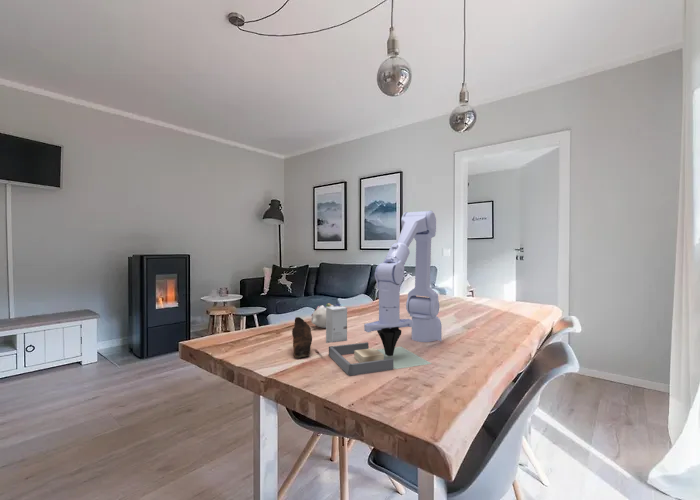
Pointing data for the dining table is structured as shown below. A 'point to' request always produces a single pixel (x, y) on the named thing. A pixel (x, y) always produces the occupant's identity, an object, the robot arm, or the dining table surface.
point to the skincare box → (336, 324)
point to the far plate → (404, 358)
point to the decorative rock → (301, 338)
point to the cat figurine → (320, 316)
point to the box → (357, 368)
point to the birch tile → (368, 355)
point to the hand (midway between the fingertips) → (389, 354)
